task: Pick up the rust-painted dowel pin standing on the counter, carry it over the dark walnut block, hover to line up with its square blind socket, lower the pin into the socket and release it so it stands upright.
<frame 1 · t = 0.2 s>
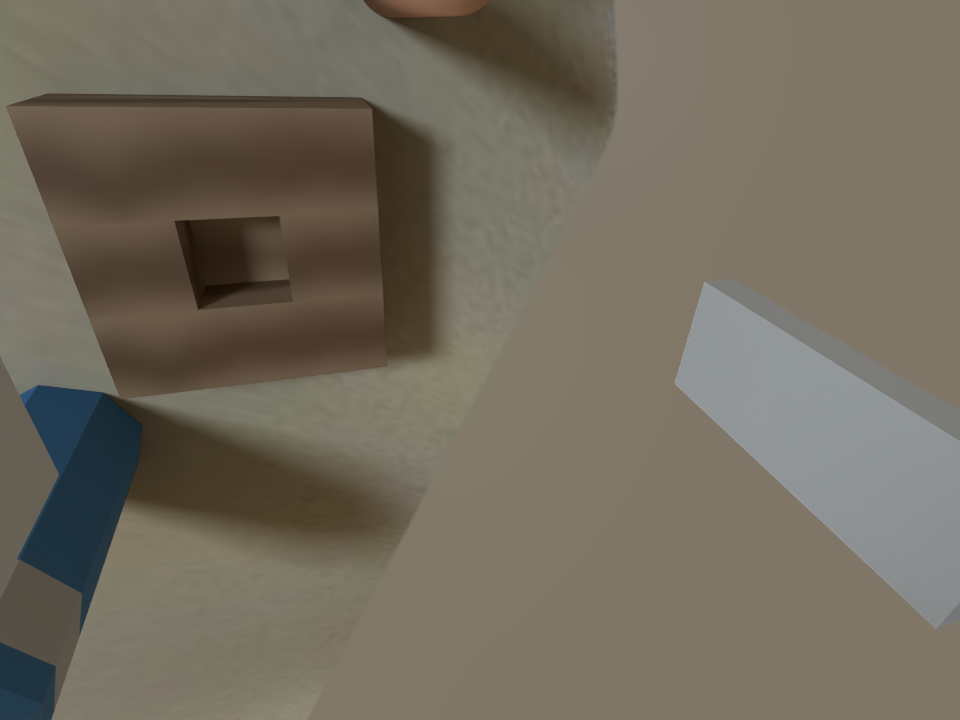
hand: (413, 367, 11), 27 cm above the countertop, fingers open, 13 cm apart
socket block: (243, 235, 34), on the countertop
water bottle: (69, 437, 38), on the countertop
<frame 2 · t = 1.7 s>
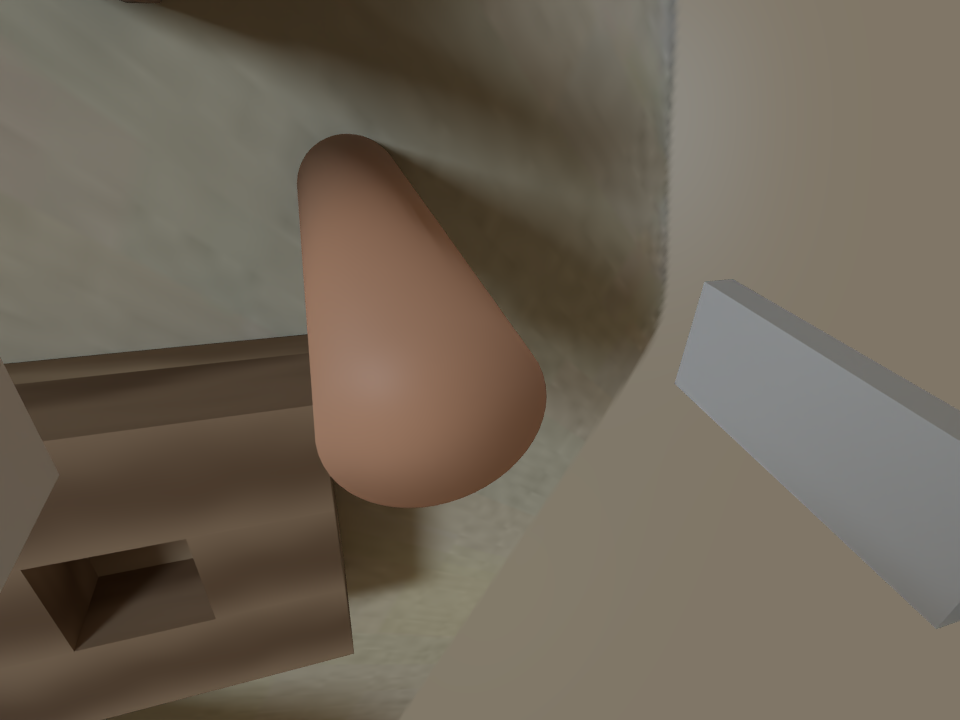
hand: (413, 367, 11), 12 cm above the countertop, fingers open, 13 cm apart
socket block: (153, 501, 24), on the countertop
pin: (351, 188, 20), on the countertop
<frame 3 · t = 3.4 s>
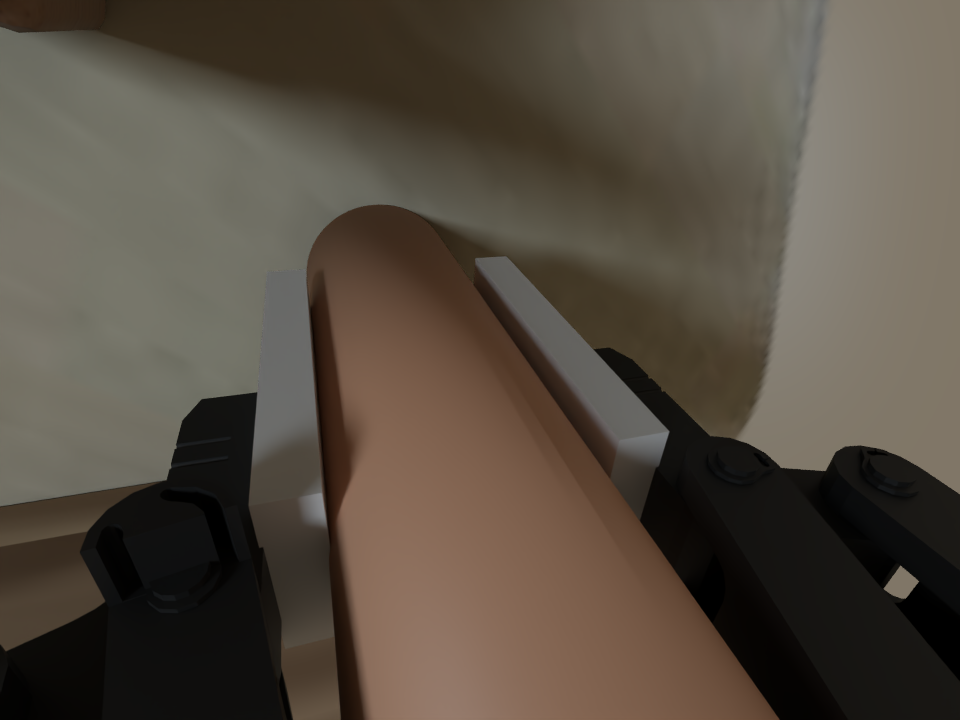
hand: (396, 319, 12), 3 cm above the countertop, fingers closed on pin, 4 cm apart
socket block: (118, 660, 19), on the countertop
pin: (380, 275, 14), on the countertop, touching gripper
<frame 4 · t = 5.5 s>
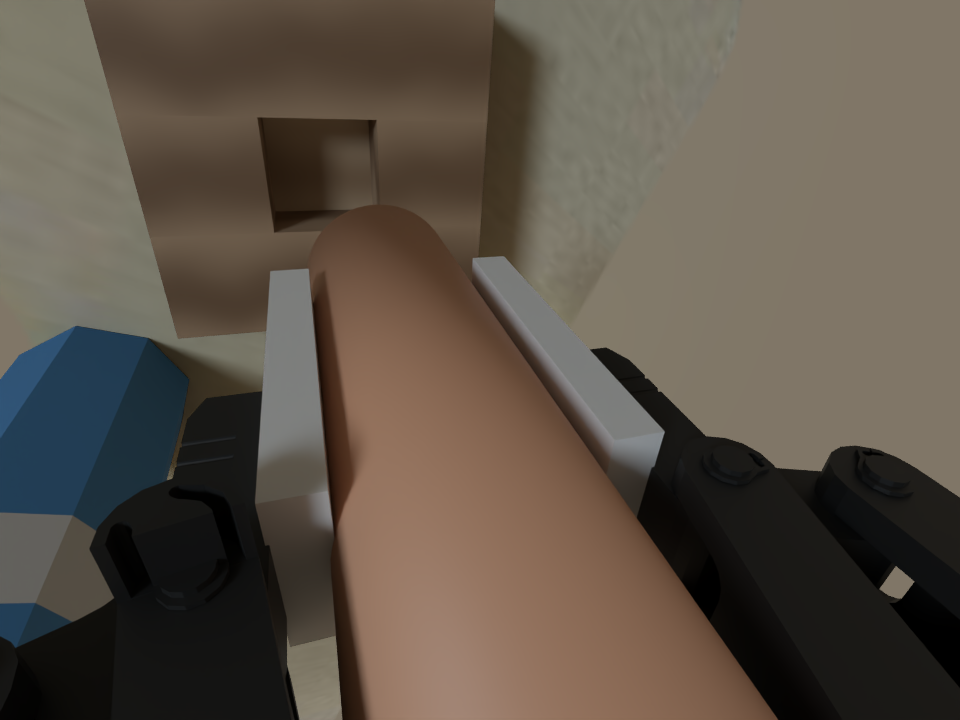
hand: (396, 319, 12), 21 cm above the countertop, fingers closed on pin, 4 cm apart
socket block: (319, 155, 29), on the countertop
pin: (380, 274, 14), point 18 cm above the countertop, touching gripper
water bottle: (107, 389, 33), on the countertop
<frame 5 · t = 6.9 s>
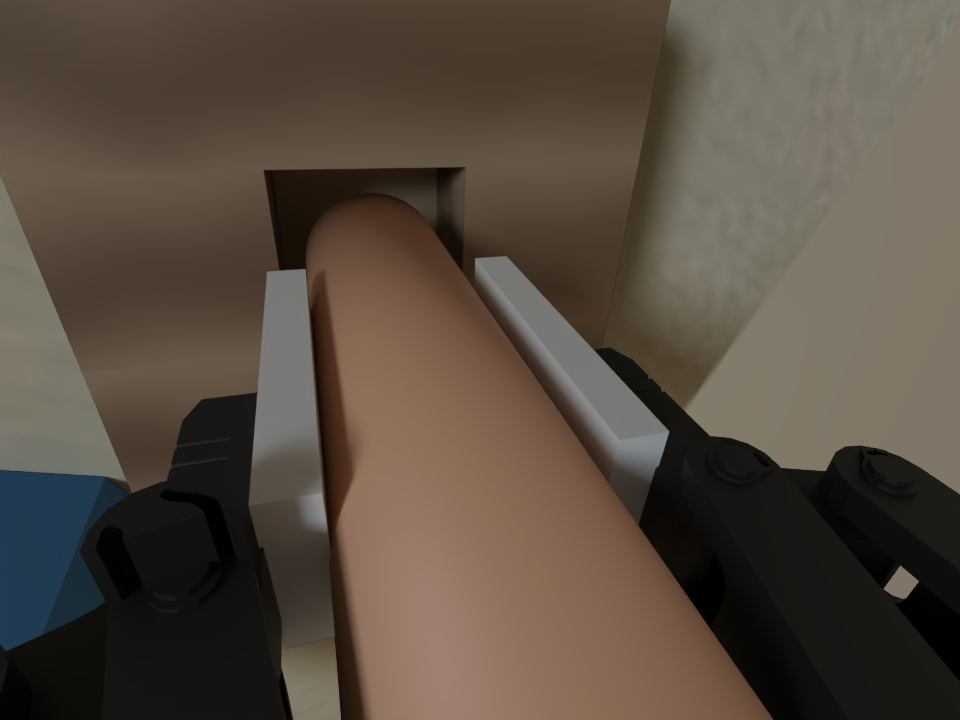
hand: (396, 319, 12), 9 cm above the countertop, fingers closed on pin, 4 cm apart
socket block: (356, 212, 19), on the countertop
pin: (373, 258, 15), point 5 cm above the countertop, touching gripper
water bottle: (49, 545, 23), on the countertop
when the fingers open (6 cm above the countertop, at t = 8.0 s): pin stays where it is, resting on socket block.
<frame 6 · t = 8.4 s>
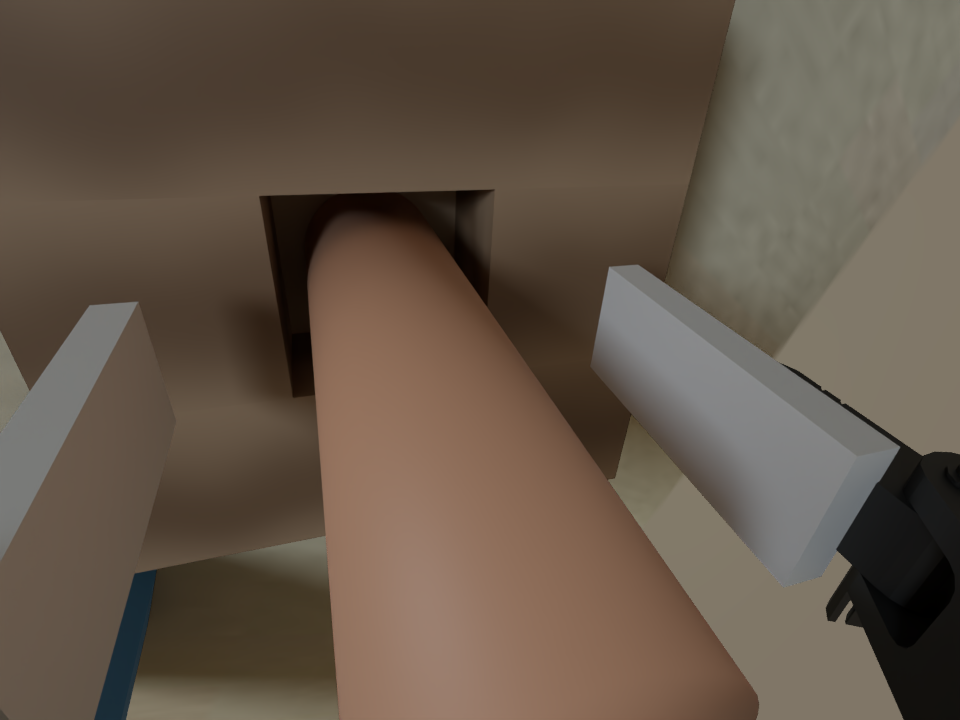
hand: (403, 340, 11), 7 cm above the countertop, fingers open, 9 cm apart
socket block: (365, 233, 17), on the countertop
pin: (370, 250, 16), point 1 cm above the countertop, touching socket block
water bottle: (26, 595, 21), on the countertop
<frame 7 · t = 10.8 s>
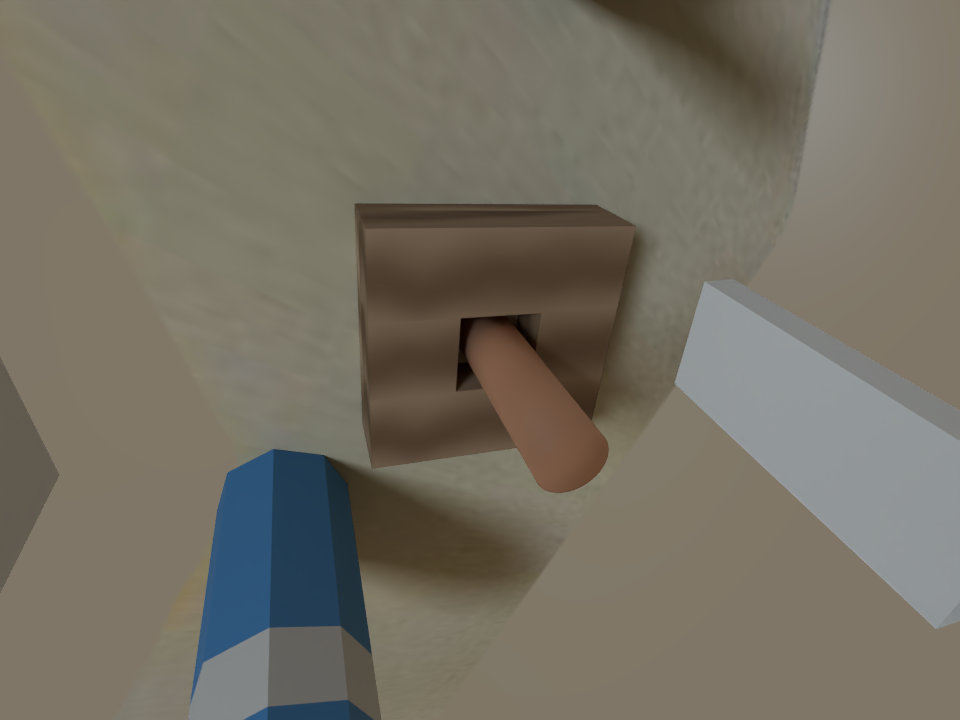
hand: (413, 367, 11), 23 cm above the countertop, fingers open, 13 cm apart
socket block: (474, 318, 37), on the countertop
pin: (480, 328, 36), point 2 cm above the countertop, touching socket block
water bottle: (284, 494, 40), on the countertop
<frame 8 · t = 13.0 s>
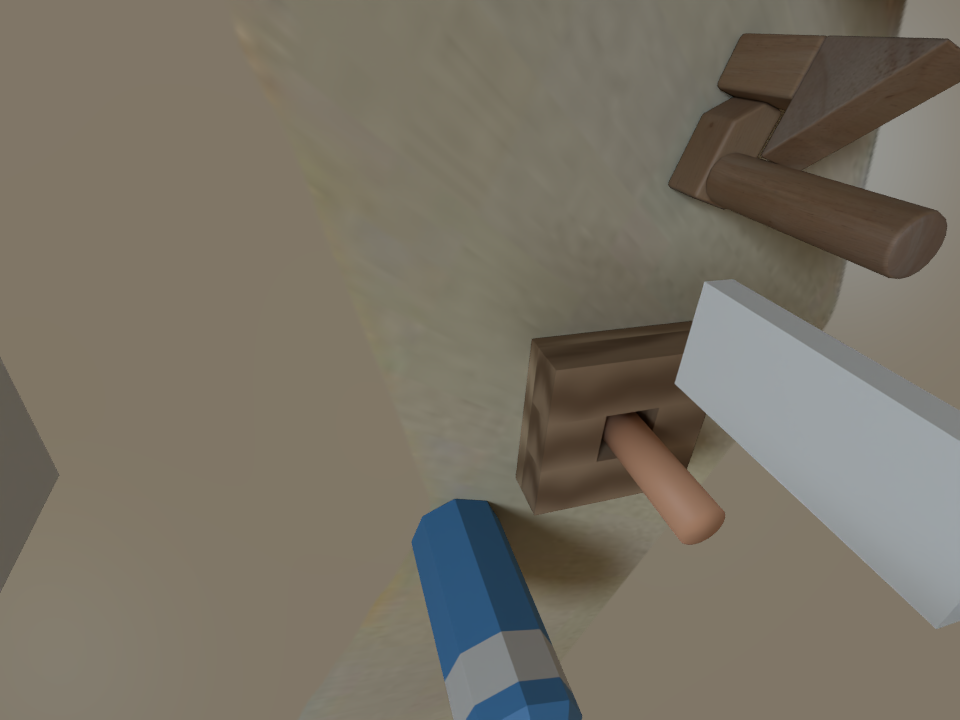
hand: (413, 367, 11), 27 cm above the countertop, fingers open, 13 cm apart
wooden block: (715, 120, 39), on the countertop
socket block: (600, 402, 51), on the countertop
pin: (608, 412, 50), point 2 cm above the countertop, touching socket block
water bottle: (455, 529, 55), on the countertop
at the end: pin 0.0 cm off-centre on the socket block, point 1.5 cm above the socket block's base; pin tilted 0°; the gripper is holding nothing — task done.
